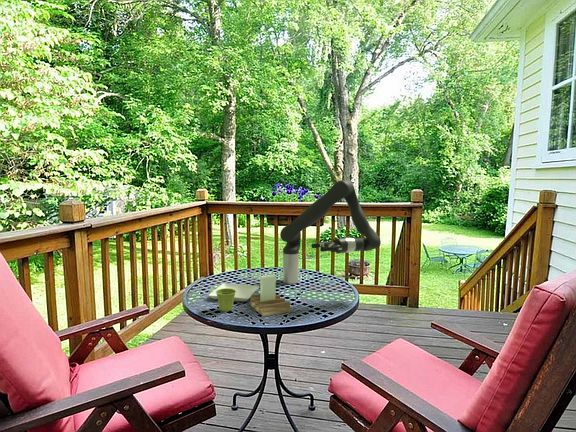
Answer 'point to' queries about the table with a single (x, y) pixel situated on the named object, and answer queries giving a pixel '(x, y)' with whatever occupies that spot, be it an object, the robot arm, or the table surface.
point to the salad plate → (237, 291)
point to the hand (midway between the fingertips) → (316, 247)
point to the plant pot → (225, 298)
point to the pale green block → (267, 287)
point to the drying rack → (270, 305)
